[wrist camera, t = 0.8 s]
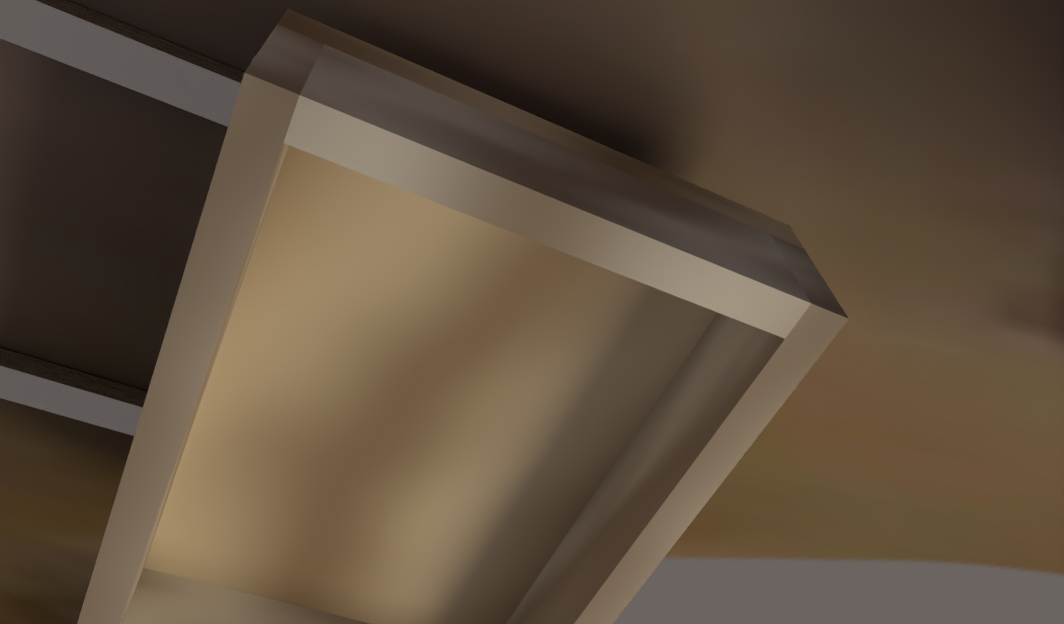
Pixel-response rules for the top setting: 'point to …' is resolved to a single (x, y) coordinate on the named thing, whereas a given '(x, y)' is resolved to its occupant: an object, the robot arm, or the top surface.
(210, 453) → the beige open rectangular box
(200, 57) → the framed panel
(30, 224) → the top surface
